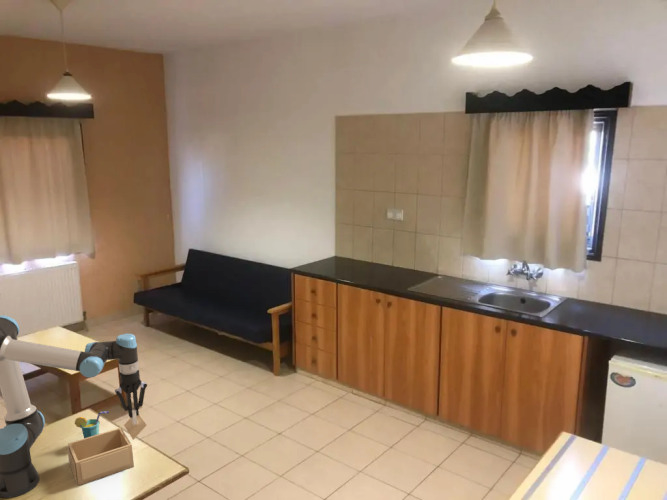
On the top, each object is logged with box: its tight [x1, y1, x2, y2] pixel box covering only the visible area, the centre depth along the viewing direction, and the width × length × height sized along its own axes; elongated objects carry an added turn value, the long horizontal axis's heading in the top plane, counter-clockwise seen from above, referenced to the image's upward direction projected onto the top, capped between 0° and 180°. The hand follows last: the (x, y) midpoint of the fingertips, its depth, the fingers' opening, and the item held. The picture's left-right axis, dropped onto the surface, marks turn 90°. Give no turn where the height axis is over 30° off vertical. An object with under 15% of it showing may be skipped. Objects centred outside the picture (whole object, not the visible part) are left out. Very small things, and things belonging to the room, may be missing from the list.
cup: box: [74, 411, 109, 439], centre depth 236 cm, size 14×8×15 cm, turn 113°
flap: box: [123, 414, 147, 441], centre depth 227 cm, size 8×14×1 cm
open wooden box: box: [66, 427, 135, 487], centre depth 221 cm, size 22×18×10 cm
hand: (134, 423), depth 227 cm, fingers closed
